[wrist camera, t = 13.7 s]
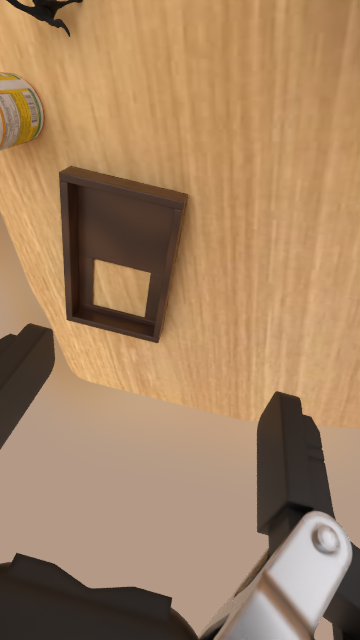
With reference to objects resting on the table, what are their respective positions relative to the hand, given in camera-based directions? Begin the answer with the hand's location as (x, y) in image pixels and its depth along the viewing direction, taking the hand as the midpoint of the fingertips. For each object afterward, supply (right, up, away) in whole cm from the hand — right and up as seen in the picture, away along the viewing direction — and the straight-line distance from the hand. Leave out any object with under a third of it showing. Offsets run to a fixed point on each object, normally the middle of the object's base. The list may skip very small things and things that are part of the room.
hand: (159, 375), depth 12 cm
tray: (-6, +9, +26) cm, 28 cm away
